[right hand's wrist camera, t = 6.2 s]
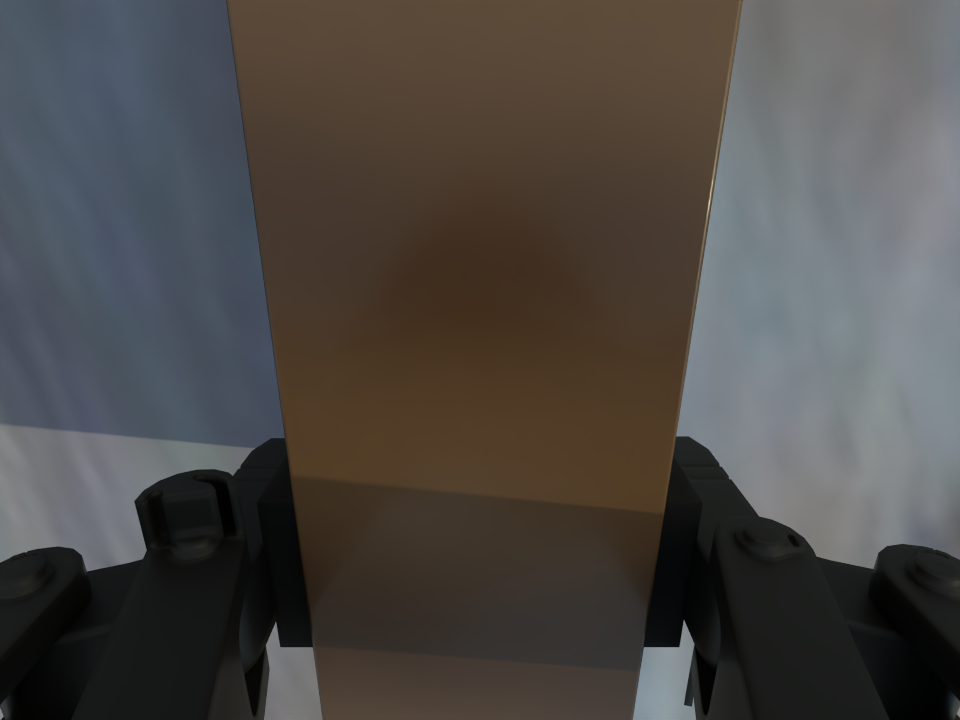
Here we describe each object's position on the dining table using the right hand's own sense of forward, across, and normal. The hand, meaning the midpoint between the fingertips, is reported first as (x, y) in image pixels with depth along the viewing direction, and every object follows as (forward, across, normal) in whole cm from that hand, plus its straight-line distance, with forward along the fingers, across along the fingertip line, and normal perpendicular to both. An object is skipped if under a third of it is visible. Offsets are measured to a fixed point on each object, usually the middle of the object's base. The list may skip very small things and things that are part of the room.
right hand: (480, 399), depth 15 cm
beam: (0, 0, -28) cm, 28 cm away
